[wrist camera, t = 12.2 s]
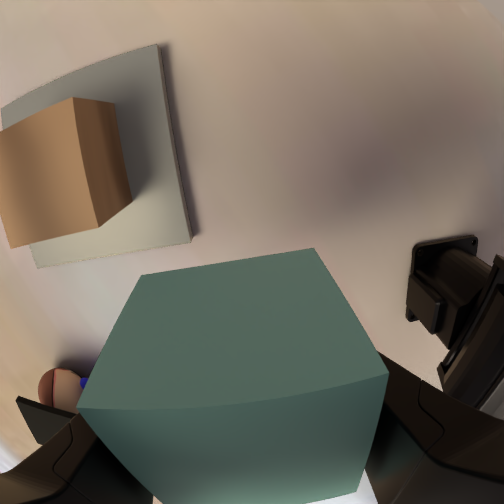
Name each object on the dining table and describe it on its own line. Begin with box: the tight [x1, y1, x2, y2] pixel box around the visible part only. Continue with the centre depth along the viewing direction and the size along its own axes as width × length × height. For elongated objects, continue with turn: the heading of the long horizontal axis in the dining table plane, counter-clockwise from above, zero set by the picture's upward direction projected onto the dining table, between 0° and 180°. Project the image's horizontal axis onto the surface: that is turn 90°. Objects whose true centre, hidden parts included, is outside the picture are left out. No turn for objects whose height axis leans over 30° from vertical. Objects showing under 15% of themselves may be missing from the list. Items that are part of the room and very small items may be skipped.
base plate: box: [1, 44, 193, 269], centre depth 16 cm, size 12×12×1 cm
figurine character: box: [16, 368, 88, 445], centre depth 21 cm, size 7×8×15 cm
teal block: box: [76, 248, 389, 504], centre depth 7 cm, size 5×5×5 cm
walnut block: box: [0, 97, 133, 249], centre depth 14 cm, size 6×6×5 cm
